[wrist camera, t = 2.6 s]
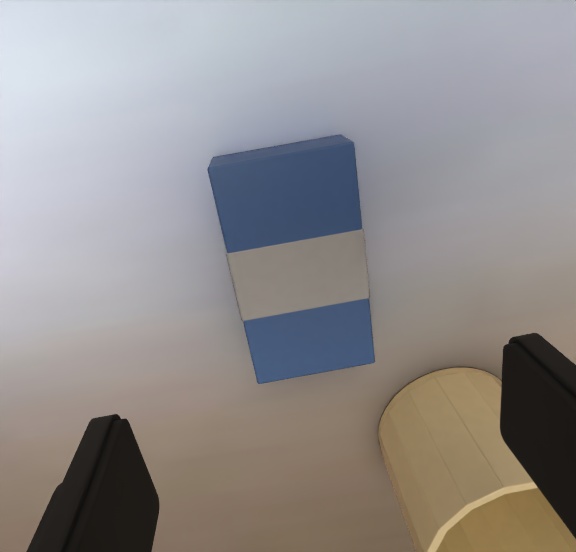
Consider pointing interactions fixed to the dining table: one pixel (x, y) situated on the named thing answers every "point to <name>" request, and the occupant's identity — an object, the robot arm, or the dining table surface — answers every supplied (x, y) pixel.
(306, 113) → the dining table surface
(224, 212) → the block
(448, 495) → the beige cup
